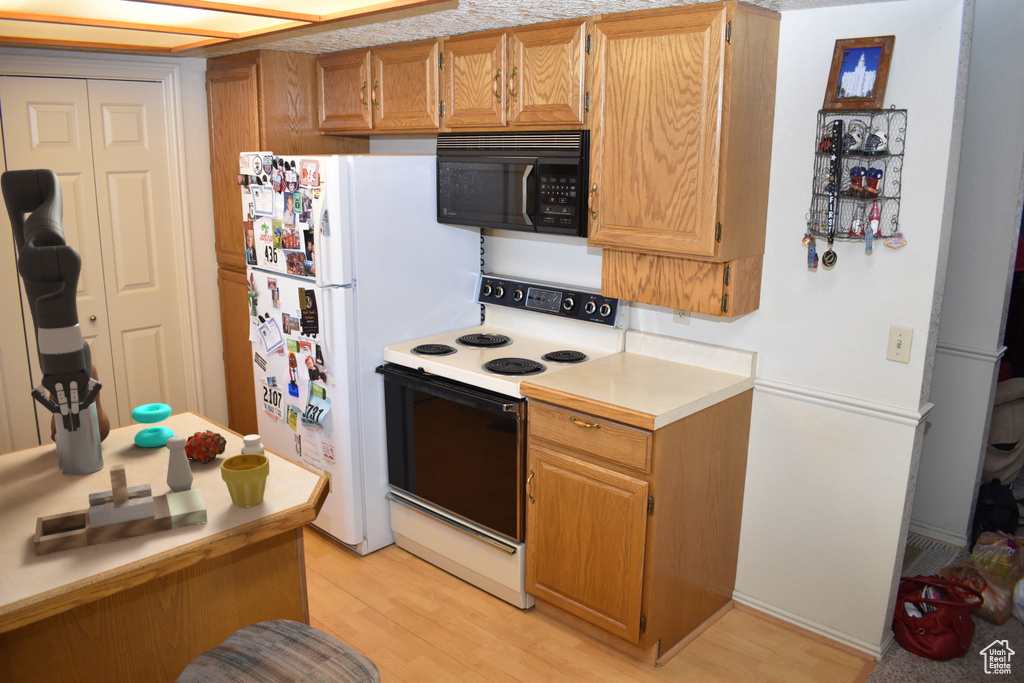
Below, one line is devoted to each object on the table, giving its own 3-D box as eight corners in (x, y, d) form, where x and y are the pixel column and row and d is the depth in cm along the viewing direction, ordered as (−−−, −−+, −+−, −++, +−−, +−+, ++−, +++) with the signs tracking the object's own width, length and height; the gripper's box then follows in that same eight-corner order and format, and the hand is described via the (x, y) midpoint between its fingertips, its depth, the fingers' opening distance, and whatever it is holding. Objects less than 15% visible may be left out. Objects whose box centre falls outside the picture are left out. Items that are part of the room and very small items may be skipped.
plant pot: (252, 514, 173) (248, 473, 171) (214, 507, 177) (210, 466, 174) (280, 495, 183) (278, 456, 180) (244, 489, 186) (241, 450, 184)
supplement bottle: (238, 476, 193) (235, 439, 191) (253, 468, 198) (250, 432, 196) (256, 480, 191) (253, 442, 189) (270, 471, 196) (267, 435, 194)
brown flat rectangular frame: (36, 556, 155) (33, 542, 154) (39, 530, 165) (37, 517, 165) (207, 521, 170) (206, 509, 169) (200, 500, 180) (199, 488, 179)
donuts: (156, 399, 220) (178, 406, 215) (160, 433, 222) (182, 440, 217) (123, 409, 212) (144, 416, 207) (127, 444, 214) (148, 451, 209)
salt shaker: (184, 495, 182) (178, 443, 179) (162, 493, 184) (156, 441, 180) (199, 485, 188) (194, 434, 185) (177, 483, 189) (172, 432, 186)
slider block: (107, 522, 163) (101, 475, 160) (106, 510, 168) (100, 465, 166) (139, 516, 166) (133, 469, 163) (137, 505, 171) (132, 460, 168)
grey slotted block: (91, 529, 160) (88, 513, 159) (90, 509, 169) (88, 494, 168) (155, 517, 165) (153, 501, 164) (151, 498, 174) (150, 483, 173)
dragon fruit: (232, 462, 206) (184, 476, 201) (225, 436, 210) (178, 450, 206) (228, 445, 199) (179, 459, 195) (221, 419, 204) (172, 432, 199)
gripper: (20, 355, 149) (33, 441, 153) (99, 347, 155) (110, 430, 159) (23, 347, 155) (36, 429, 159) (99, 339, 161) (109, 419, 165)
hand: (73, 430), depth 159 cm, fingers closed
